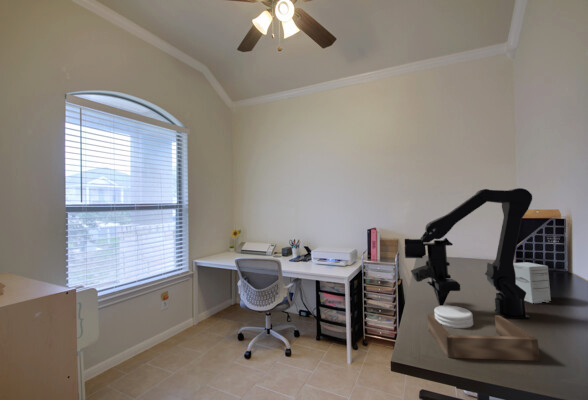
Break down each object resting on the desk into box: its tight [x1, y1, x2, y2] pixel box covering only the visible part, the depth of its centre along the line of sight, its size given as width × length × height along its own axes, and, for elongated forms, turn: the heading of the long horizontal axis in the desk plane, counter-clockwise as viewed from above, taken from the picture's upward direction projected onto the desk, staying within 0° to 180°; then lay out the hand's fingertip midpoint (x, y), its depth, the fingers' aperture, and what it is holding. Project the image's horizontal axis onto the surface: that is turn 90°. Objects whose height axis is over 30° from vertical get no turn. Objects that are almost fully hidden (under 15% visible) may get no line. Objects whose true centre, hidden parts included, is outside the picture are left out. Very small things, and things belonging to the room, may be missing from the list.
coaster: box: [433, 305, 474, 329], centre depth 81 cm, size 10×10×4 cm
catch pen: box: [426, 314, 541, 362], centre depth 67 cm, size 18×14×4 cm
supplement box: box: [513, 261, 552, 304], centre depth 97 cm, size 7×7×13 cm
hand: (440, 305), depth 91 cm, fingers closed
